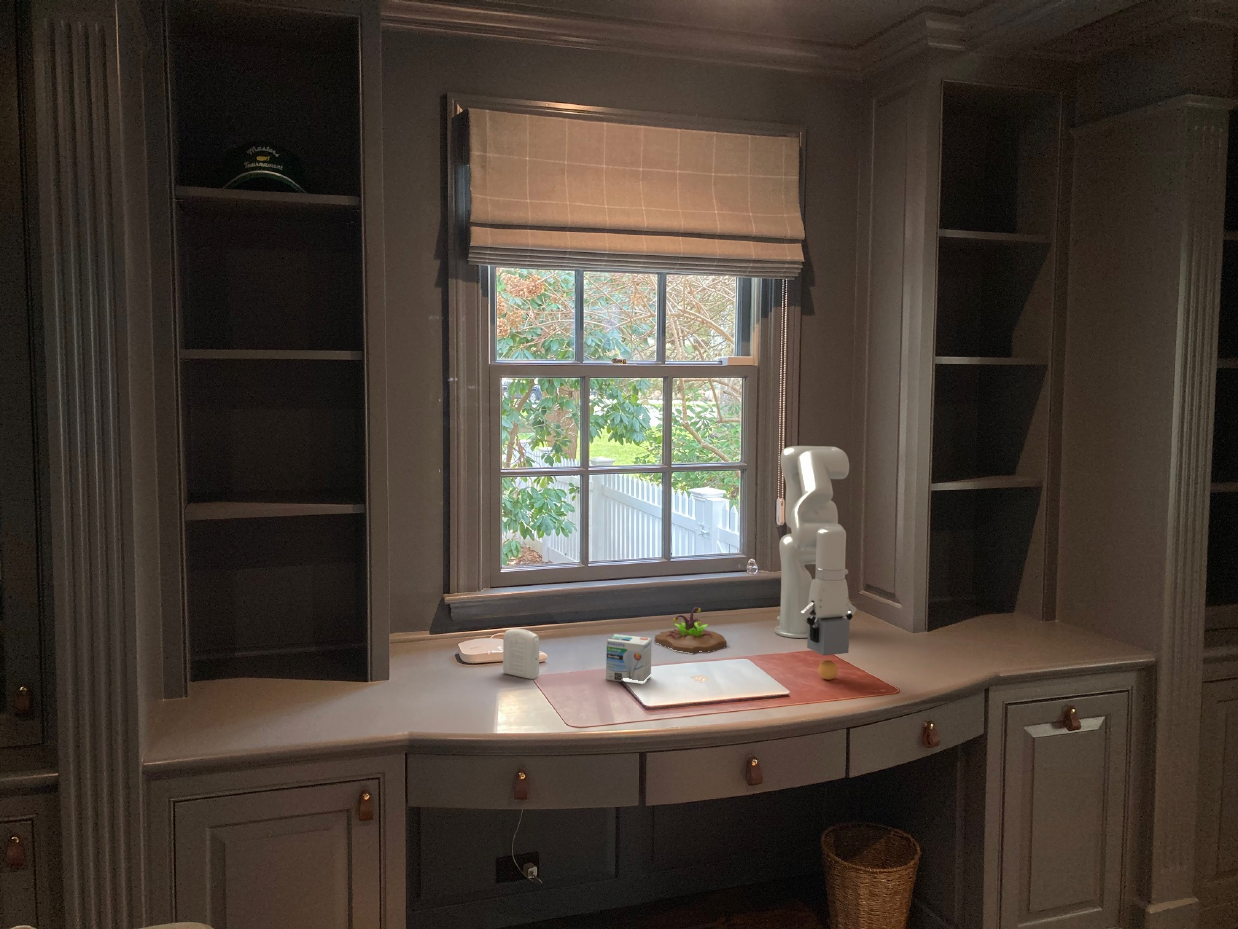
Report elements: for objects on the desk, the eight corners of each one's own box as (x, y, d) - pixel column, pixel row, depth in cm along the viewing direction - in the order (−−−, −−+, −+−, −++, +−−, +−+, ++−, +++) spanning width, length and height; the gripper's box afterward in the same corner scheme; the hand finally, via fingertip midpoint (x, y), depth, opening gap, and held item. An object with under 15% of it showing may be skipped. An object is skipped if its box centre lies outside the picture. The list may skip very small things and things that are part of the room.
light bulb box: (605, 680, 240) (605, 639, 239) (614, 672, 246) (614, 633, 246) (643, 685, 237) (644, 644, 236) (651, 677, 243) (652, 637, 242)
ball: (825, 682, 240) (815, 679, 244) (842, 680, 241) (831, 677, 246) (824, 662, 240) (814, 660, 245) (841, 660, 242) (830, 658, 246)
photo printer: (541, 676, 243) (541, 630, 241) (532, 680, 239) (532, 634, 238) (510, 669, 248) (510, 625, 247) (500, 674, 244) (500, 628, 243)
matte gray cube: (807, 647, 245) (808, 615, 244) (831, 645, 248) (832, 613, 247) (823, 655, 238) (824, 622, 237) (848, 653, 241) (849, 620, 240)
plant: (738, 648, 272) (739, 611, 271) (685, 658, 262) (686, 619, 261) (697, 632, 289) (697, 597, 288) (646, 641, 278) (646, 605, 277)
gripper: (849, 570, 248) (847, 633, 249) (793, 573, 242) (792, 639, 243) (866, 575, 241) (864, 641, 242) (809, 579, 235) (807, 646, 236)
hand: (827, 639), depth 243 cm, fingers closed on matte gray cube, 7 cm apart
